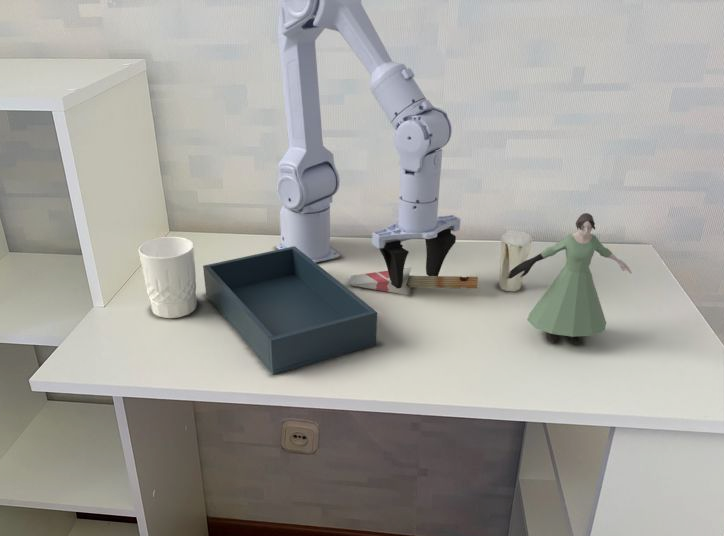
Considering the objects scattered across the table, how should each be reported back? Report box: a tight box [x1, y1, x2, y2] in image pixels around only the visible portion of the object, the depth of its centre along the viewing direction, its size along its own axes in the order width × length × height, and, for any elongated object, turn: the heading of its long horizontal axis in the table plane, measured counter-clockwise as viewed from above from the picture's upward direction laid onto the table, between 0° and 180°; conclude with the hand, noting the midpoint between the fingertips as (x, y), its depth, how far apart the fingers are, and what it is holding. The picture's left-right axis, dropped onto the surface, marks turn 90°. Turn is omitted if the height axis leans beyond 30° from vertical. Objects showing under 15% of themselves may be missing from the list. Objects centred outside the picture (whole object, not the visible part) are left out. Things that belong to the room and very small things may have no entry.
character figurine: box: [506, 212, 632, 345], centre depth 93 cm, size 16×8×18 cm, turn 83°
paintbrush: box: [347, 267, 479, 296], centre depth 110 cm, size 4×3×20 cm
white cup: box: [138, 236, 198, 319], centre depth 105 cm, size 8×8×10 cm
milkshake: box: [498, 229, 538, 292], centre depth 108 cm, size 4×5×10 cm
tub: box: [202, 246, 378, 375], centre depth 102 cm, size 26×16×5 cm, turn 26°
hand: (413, 281), depth 110 cm, fingers closed on paintbrush, 6 cm apart
